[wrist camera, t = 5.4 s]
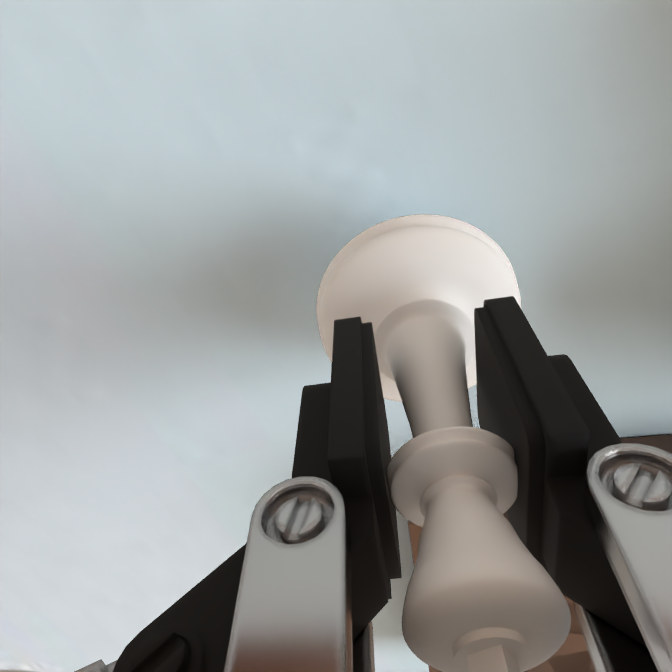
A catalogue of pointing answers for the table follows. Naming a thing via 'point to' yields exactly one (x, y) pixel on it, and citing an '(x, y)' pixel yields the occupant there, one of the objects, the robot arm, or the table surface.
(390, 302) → the chess piece
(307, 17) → the table surface
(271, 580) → the robot arm
